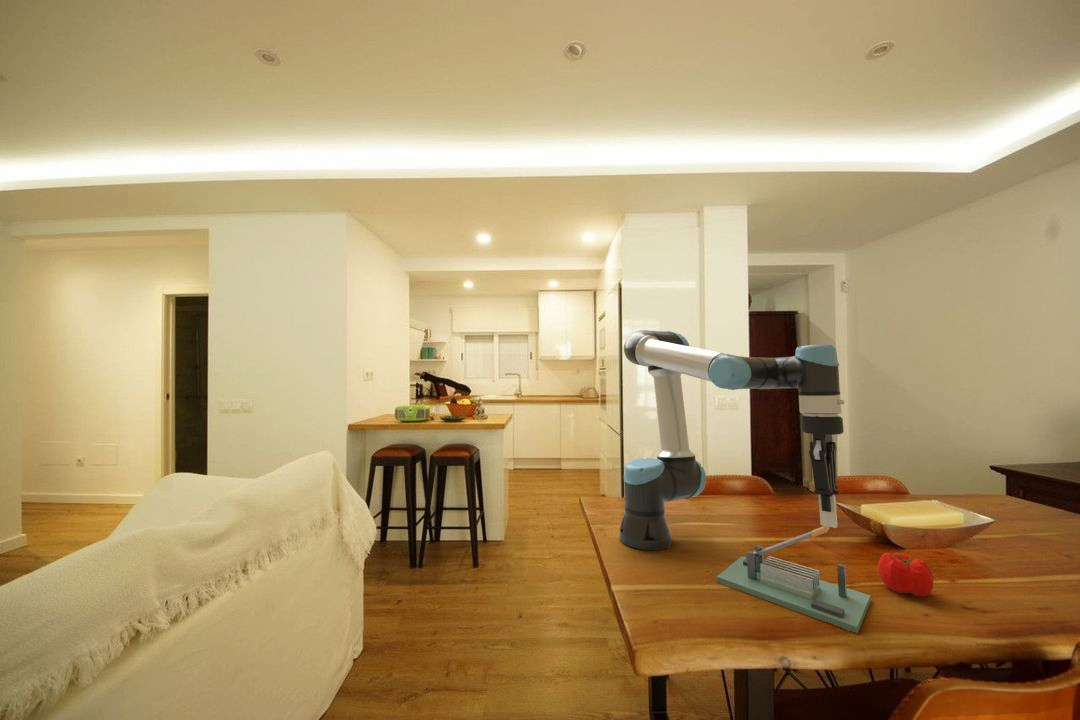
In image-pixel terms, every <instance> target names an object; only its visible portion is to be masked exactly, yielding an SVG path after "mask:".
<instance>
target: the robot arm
mask: <svg viewBox="0 0 1080 720" xmlns="http://www.w3.org/2000/svg"><path fill="white" fill-rule="evenodd" d="M623 353H624V355H625V357H626V359H627V360H628V361H629V362H630V363H632V364H634V365H637V366H643V367H647V370H648V371H647V373H648V374H649V375H650V376H652V378H653V383H654V395H655V404H656V414H657V422H658V430H659V431H658V433H659V441H660V448H661V449H660V452H659V453H658V454H657V455H656V457H655V458H652V457H646V458H643V457H642V458H636V459H633V460H630V461H628V462H627V463H626V464H625V466H624V474H623V482H624V484H623V485H624V513H623V517H622V521H621V523H620V527H619V531H618V534H619V535H618V536H619V537H618V539H619V540H620V542H621V543H623V544H624V545H625V546H628V547H630V548H633V549H636V550H637V549H638V550H644V551H660V550H661V551H662V550H665V549H667V548H669V547H671V546H672V540H673V539H672V533H671V529H670V527H669V524H668V521H667V519H666V514H665V511H666V510H665V508H666V507H665V503H666V502H667V503H668V502H671V501H672V502H674V501H678V500H688V499H692V498H693V497H695V498H696V497H697V496H699V495H700V494H701V493H702V492H703V490H704V489H705V487H706V483H707V476H706V471H705V468H704V466H702V464H701V462H700V461H698V460H696V454H695V453H694V452H693V451H692V450H691V449H690V446H689V436H688V430H687V429H688V427H687V420H686V411H685V401H684V395H683V394H684V392H683V385H682V384H683V383H682V378H681V375H682V374H683V375H686V376H690V377H692V378H693V377H694V378H696V379H701V380H704V381H707V382H711V383H713V385H714V386H716V387H717V388H719V389H724V390H731V391H735V390H754V389H755V390H757V389H758V390H771V389H772V390H773V389H774V390H775V389H779V390H780V389H797V391H798V405H799V413H801V414H802V415H800V430H801V432H802V433H805V434H811V435H812V441H810V442H809V448H810V449H809V451H808V454H809V457H810V462H811V468H812V476H813V483H814V490H813V494H814V495H817V497H818V507H819V520H820V521H819V522H820V526H828V527H829V528H834V529H837V528H838V516H837V512H838V511H837V503H836V502H837V501H836V495H837V496H840V493H841V492H840V491H839V490H837V489H838V485H837V484H838V482H837V444H836V442H835V441H833V435H835V436H836V435H842V434H843V433H844V430H845V429H844V422H843V420H844V419H843V417H842V416H839V415H840V414H842V405H845V403H846V402H845V400H844V399H841V398H842V397H841V390H840V374H839V373H840V372H839V371H840V369H839V367H840V364H839V361H838V354H837V348H836V347H835V346H834V345H832V344H810V345H809V344H808V345H807V344H806V345H802V346H801V345H800V346H798V347H796V349H795V354H794V355H793V356H784V357H754V356H751V357H750V356H741V355H734V354H729V353H724V352H717V351H713V350H709V349H704V348H698V347H694V346H693V347H692V346H690V343H689V341H688V340H687V338H686V337H684V335H682V334H681V333H678V332H673V331H668V330H667V331H663V330H647V329H644V330H643V329H640V330H636V331H634V332H632V333H631V334H629V336H627V337H626V339H625V341H624V344H623Z"/></svg>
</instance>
